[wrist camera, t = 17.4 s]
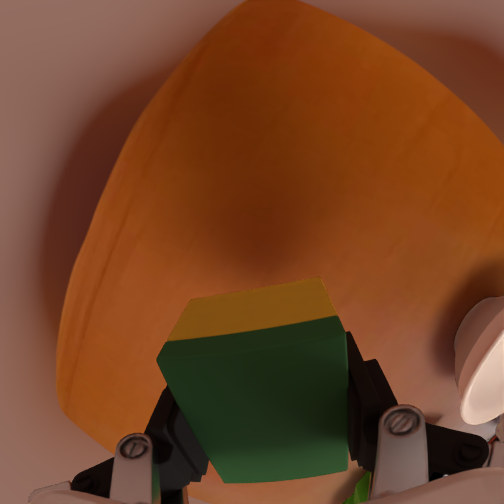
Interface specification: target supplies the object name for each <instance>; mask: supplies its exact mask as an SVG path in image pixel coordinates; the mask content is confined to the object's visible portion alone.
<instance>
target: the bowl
mask: <svg viewBox="0 0 504 504" xmlns="http://www.w3.org/2000/svg"><path fill="white" fill-rule="evenodd" d="M454 351H455V354H456V356H455V380H456V384H457V387H458V391H459V395H460V397H461V399H462V401H461V407H460V414H461V418H462V419H463V420H464V421H465V422H466V423H468V424H471V425H478V424H482V423H485V422H488V421H490V420H492V419H494V418H496V417H498V416H499V415H501V414H502V413H504V295H503V296H500V297H497V298H496V297H488V298H486V299H483V300H482V301H480V302H479V303H477V304H476V305H475V306H474V307H473V308H472V309H471V310H470V311H469V312H468V313H467V315H466V316H465V318H464V319H463V321H462V322H461V324H460V326H459V328H458V331H457V333H456V336H455V341H454Z"/></svg>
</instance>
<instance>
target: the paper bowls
mask: <svg viewBox="0 0 504 504" xmlns="http://www.w3.org/2000/svg"><path fill="white" fill-rule="evenodd" d="M495 432H496V435H497V437H498V438H499V440H500V441H502V442H504V413H502V414H501V415H500V421H499V423H498V425H497V427H496V431H495Z"/></svg>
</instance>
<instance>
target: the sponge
mask: <svg viewBox="0 0 504 504" xmlns="http://www.w3.org/2000/svg"><path fill="white" fill-rule="evenodd" d="M156 360H157V363H158V365H159V368H160V370H161V372H162V374H163V376H164V378H165V380H166V382H167V384H168V387H169V389H170V391H171V393H172V395H173V397H174V398H175V400H176V402H177V404H178V406H179V408H180V410H181V411H182V413H183V415H184V417H185V419H186V421H187V422H188V424H189V426H190V428H191V430H192V431H193V433H194V435H195V437H196V438H197V440H198V442H199V443H200V445H201V447H202V448H203V450H204V452H205V453H206V455H207V457H208V458H209V460H210V462H211V463H212V465H213V466H214V468H215V469H216V471H217V473H218V474H219V476H220V477H221V479H222V480H223V482H224V483H259V482H273V481H284V480H293V479H301V478H308V477H315V476H321V475H327V474H332V473H337V472H342V471H346V470H347V469H348V451H349V447H348V387H349V382H348V358H347V340H346V332H345V330H344V328H343V325H342V323H341V321H340V319H339V317H338V314H337V312H336V310H335V307H334V305H333V303H332V301H331V299H330V296H329V294H328V292H327V290H326V288H325V285H324V283H323V281H322V279H321V277H314V278H309V279H304V280H299V281H294V282H289V283H283V284H278V285H272V286H267V287H261V288H256V289H250V290H245V291H239V292H233V293H227V294H221V295H215V296H209V297H203V298H196V299H191V300H190V301H189V303H188V305H187V306H186V308H185V310H184V311H183V313H182V315H181V317H180V318H179V320H178V322H177V323H176V325H175V327H174V329H173V330H172V332H171V334H170V336H169V337H168V339H167V342H165V344H164V346H163V348H162V350H161V351H160V353H159V355H158V357H157V359H156Z"/></svg>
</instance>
